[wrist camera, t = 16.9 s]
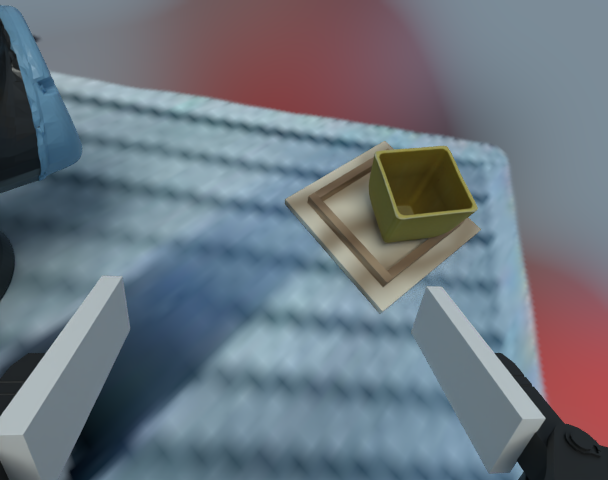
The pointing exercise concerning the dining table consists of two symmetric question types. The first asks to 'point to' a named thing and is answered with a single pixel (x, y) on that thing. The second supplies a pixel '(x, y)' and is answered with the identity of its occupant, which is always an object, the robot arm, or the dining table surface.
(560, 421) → the robot arm
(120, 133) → the dining table surface
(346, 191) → the birch tray
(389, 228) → the flower pot
